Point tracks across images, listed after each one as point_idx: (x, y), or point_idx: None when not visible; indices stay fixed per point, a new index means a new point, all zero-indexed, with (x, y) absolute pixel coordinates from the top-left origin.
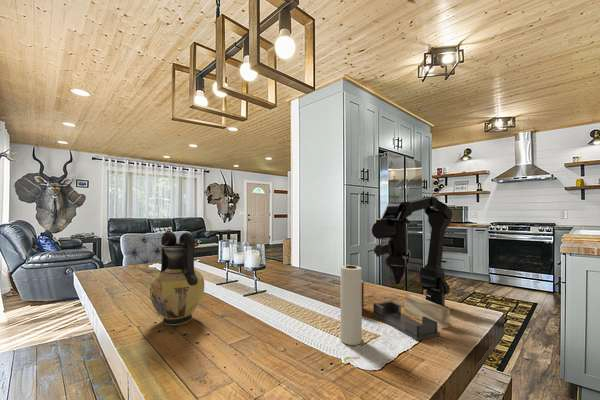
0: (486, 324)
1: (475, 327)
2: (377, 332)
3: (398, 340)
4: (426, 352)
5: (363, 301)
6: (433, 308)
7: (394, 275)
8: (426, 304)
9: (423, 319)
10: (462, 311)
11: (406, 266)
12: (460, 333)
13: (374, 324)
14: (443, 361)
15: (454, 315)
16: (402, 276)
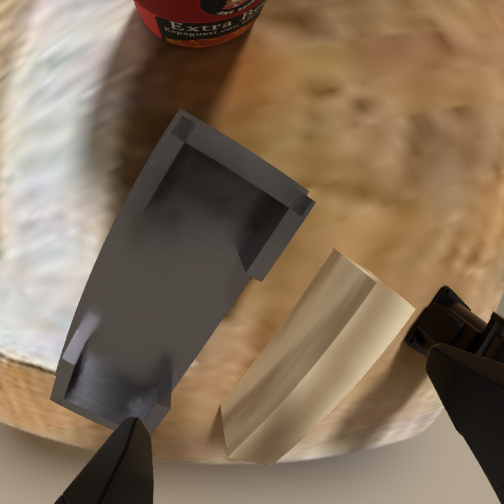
0: (335, 450)
1: (298, 447)
2: (9, 239)
3: (17, 322)
4: (28, 392)
5: (220, 30)
6: (246, 434)
7: (70, 496)
8: (276, 412)
9: (154, 401)
10: (417, 389)
11: (485, 474)
12: (221, 439)
13: (62, 189)
14: (29, 419)
15: (376, 391)
16: (431, 380)
